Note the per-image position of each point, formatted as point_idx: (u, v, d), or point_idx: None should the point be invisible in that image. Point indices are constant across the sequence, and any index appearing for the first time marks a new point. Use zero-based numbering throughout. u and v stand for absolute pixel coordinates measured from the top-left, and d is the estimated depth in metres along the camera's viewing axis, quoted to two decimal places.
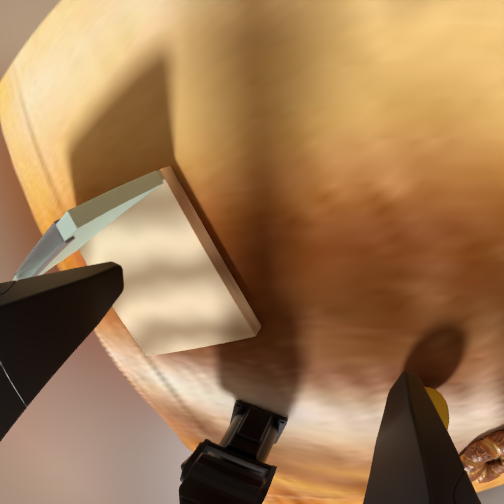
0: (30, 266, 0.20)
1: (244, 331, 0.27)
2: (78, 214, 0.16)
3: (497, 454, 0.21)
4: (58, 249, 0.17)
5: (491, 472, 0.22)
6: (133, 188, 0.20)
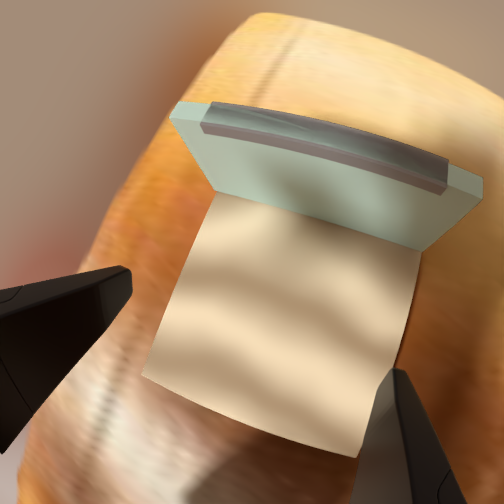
0: (297, 127, 0.13)
1: (349, 446, 0.17)
2: None
3: None
4: (421, 176, 0.12)
5: None
6: None
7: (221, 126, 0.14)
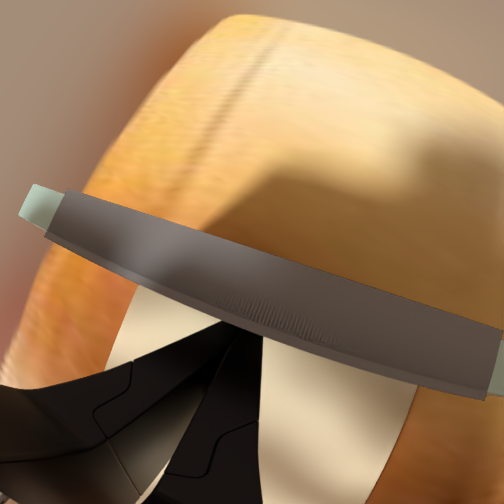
0: (186, 263, 0.07)
1: None
2: None
3: None
4: (440, 386, 0.05)
5: None
6: None
7: (68, 245, 0.07)
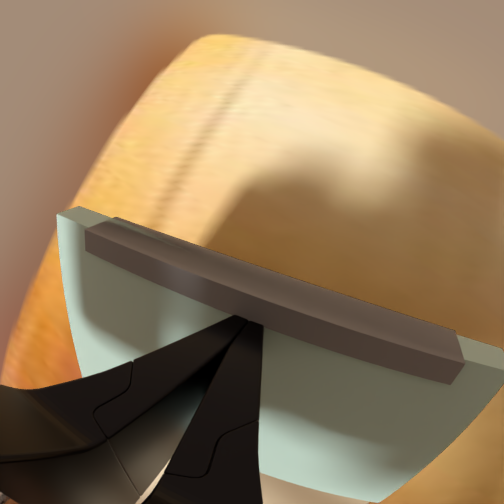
0: (221, 266, 0.09)
1: None
2: None
3: None
4: (425, 350, 0.07)
5: None
6: None
7: (111, 238, 0.09)
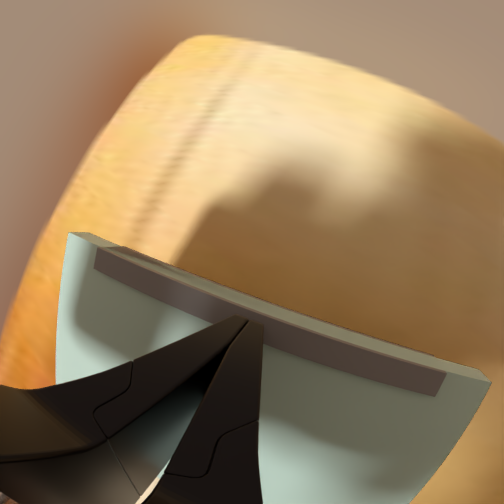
0: (224, 292, 0.10)
1: None
2: None
3: None
4: (409, 362, 0.07)
5: None
6: None
7: (123, 257, 0.10)
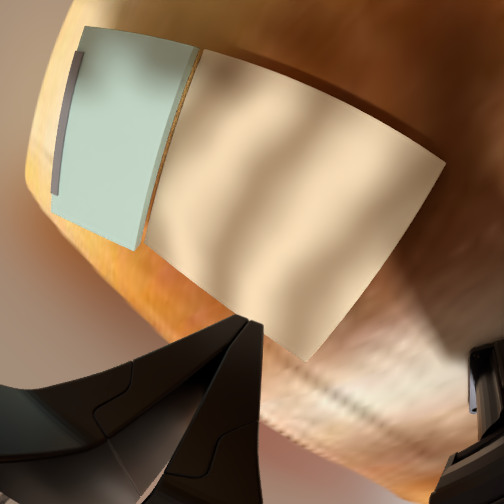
0: None
1: (427, 167, 0.13)
2: None
3: None
4: (71, 67, 0.16)
5: None
6: None
7: (52, 179, 0.21)
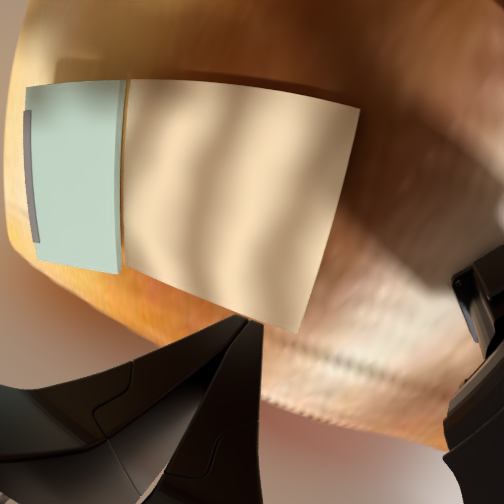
0: None
1: (344, 118, 0.15)
2: None
3: None
4: (23, 126, 0.18)
5: None
6: None
7: (31, 230, 0.23)
